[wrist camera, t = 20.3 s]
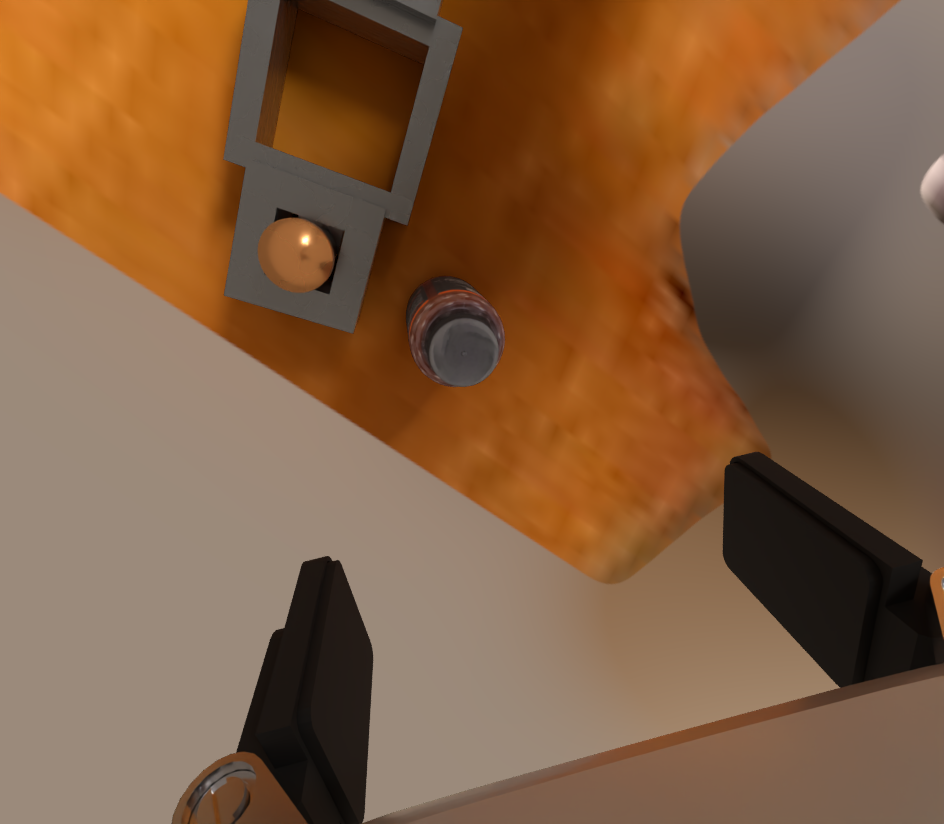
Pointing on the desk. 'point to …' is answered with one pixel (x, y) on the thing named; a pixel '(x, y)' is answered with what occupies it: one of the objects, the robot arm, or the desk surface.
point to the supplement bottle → (453, 332)
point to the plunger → (296, 254)
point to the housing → (314, 187)
